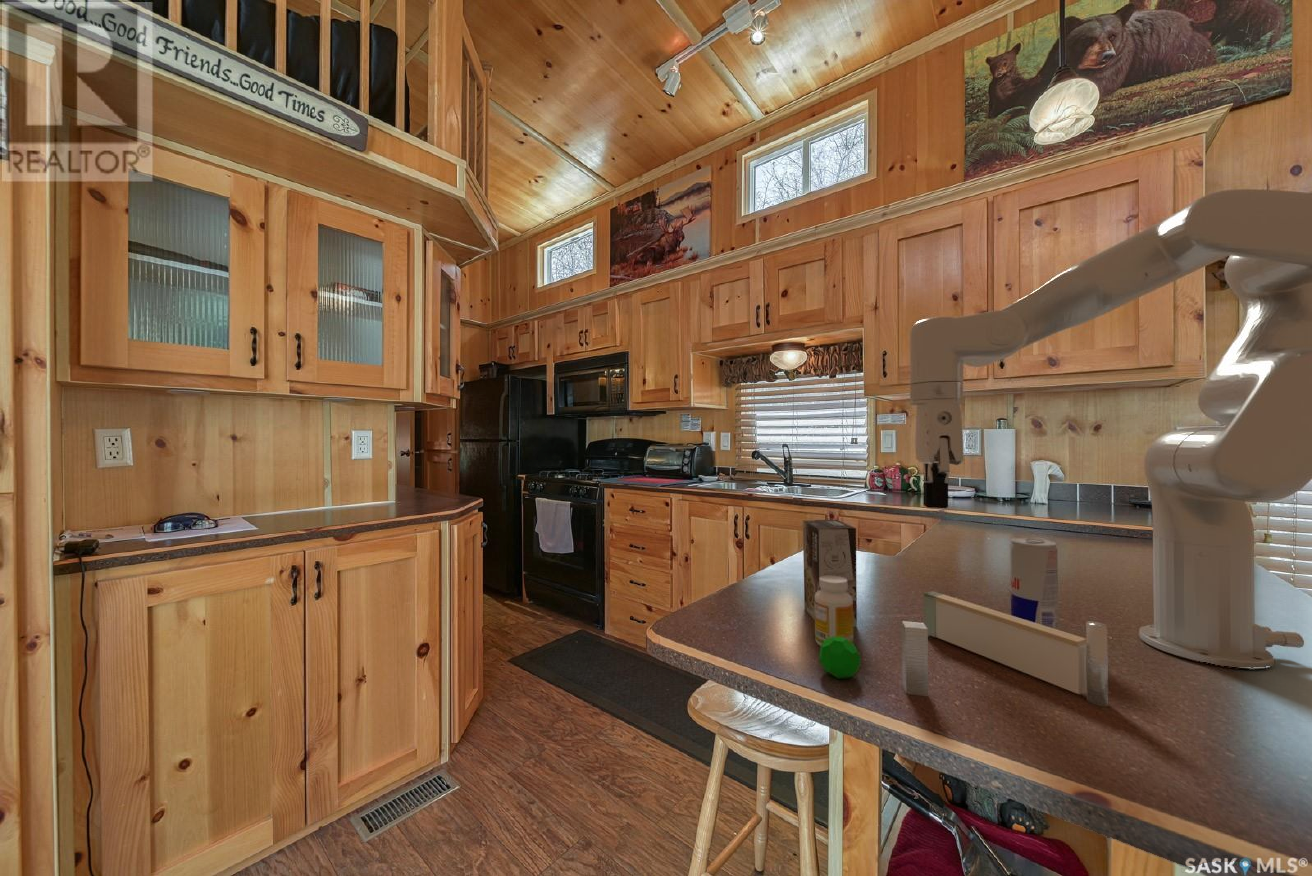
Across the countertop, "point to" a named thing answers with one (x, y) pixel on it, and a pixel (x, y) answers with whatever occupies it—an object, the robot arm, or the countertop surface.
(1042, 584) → the beverage can
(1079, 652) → the gate
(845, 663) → the polyhedron
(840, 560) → the coffee box
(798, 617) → the countertop surface
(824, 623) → the supplement bottle
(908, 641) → the gate frame
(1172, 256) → the robot arm
